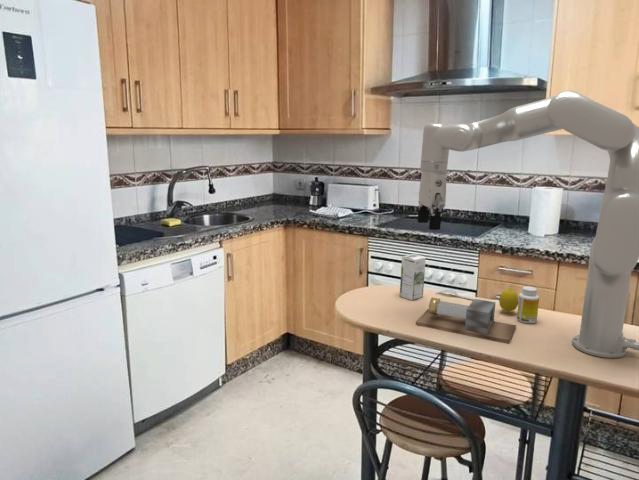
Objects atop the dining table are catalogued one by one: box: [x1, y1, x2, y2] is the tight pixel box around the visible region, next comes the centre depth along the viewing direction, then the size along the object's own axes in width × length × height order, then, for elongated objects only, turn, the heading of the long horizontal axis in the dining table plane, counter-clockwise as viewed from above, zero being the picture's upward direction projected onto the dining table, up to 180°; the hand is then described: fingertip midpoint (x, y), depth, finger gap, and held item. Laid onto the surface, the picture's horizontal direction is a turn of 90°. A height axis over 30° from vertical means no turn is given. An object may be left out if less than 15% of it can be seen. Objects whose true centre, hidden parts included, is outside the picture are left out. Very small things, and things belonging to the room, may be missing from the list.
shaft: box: [428, 297, 469, 319], centre depth 145 cm, size 12×5×5 cm, turn 61°
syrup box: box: [399, 253, 426, 301], centre depth 167 cm, size 6×6×14 cm
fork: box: [435, 289, 487, 301], centre depth 168 cm, size 3×21×3 cm, turn 57°
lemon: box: [499, 288, 519, 314], centre depth 154 cm, size 6×6×8 cm
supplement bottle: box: [516, 286, 540, 324], centre depth 148 cm, size 6×6×10 cm
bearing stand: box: [415, 298, 517, 344], centre depth 143 cm, size 26×12×7 cm, turn 61°
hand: (428, 225), depth 146 cm, fingers open, 9 cm apart
